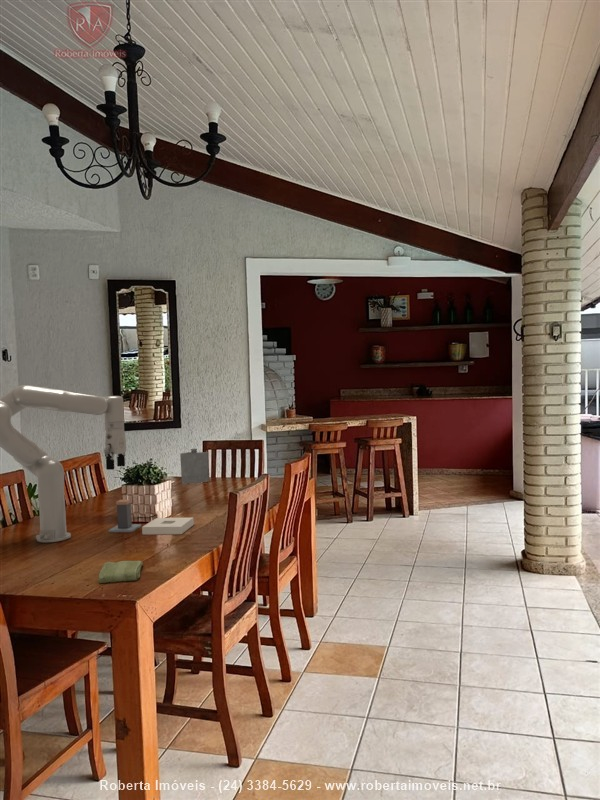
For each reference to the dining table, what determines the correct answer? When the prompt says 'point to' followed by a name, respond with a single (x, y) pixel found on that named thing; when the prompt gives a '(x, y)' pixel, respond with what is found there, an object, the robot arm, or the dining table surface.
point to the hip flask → (194, 467)
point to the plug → (124, 514)
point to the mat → (130, 529)
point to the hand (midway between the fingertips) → (115, 467)
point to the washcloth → (120, 571)
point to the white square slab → (167, 526)
